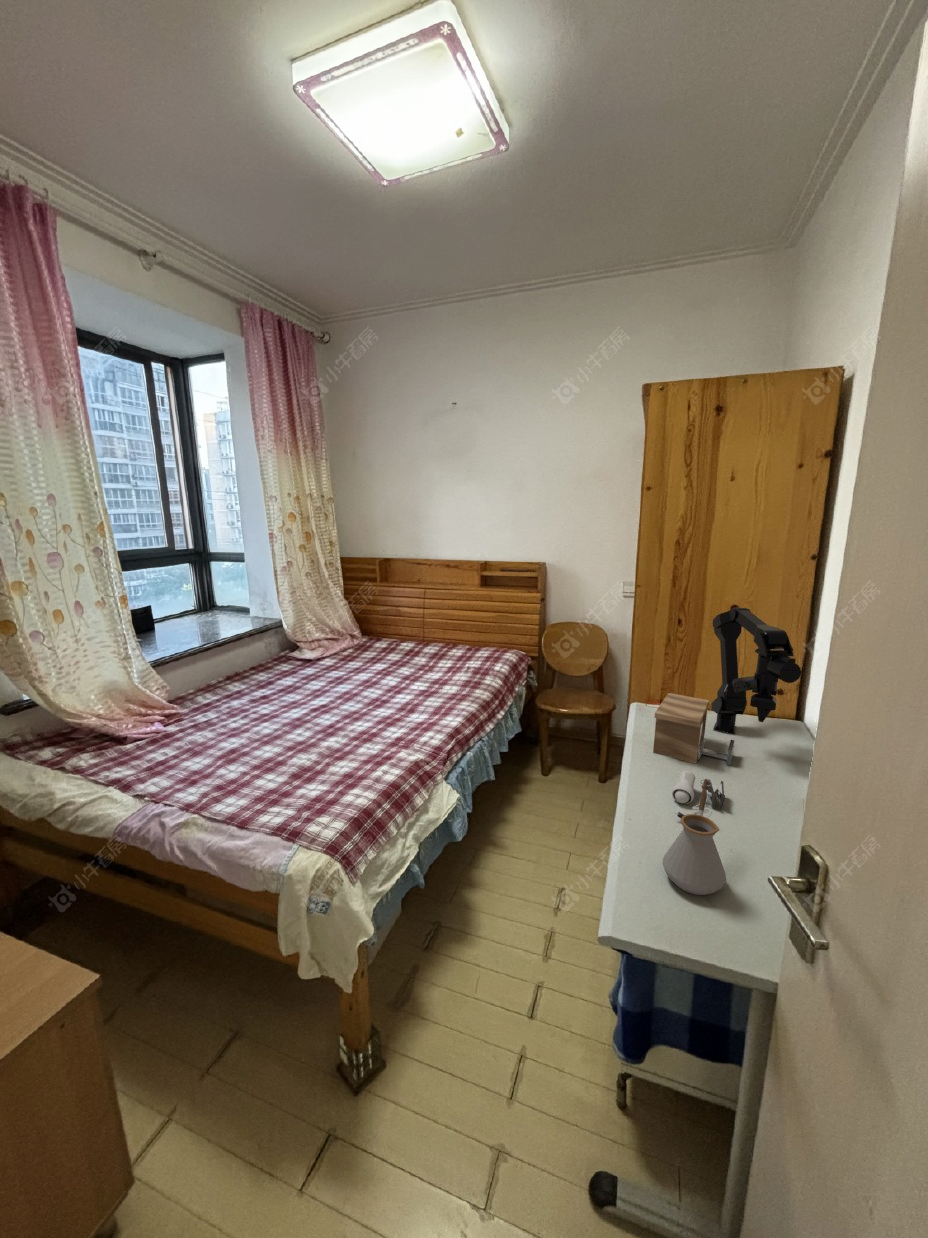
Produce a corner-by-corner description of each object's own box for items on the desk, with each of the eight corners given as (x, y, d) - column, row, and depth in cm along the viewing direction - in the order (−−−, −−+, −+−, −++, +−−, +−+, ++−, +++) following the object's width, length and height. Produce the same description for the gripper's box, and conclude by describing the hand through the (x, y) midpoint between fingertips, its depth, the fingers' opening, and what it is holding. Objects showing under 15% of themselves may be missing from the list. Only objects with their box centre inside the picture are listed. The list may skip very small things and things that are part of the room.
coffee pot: (722, 912, 92) (732, 839, 89) (656, 888, 97) (663, 820, 94) (728, 846, 110) (736, 784, 107) (672, 830, 115) (678, 770, 112)
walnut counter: (664, 732, 167) (668, 692, 164) (704, 741, 161) (709, 700, 158) (650, 756, 151) (654, 712, 148) (694, 767, 144) (699, 722, 141)
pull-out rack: (673, 738, 161) (675, 725, 160) (733, 752, 152) (734, 738, 151) (667, 752, 152) (668, 738, 151) (729, 767, 143) (731, 752, 142)
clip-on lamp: (715, 843, 116) (725, 793, 129) (720, 824, 113) (730, 774, 126) (662, 823, 121) (677, 776, 135) (666, 804, 118) (680, 758, 132)
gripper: (738, 659, 158) (733, 706, 161) (733, 675, 142) (727, 726, 146) (780, 665, 152) (773, 713, 155) (779, 682, 136) (771, 735, 140)
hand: (760, 721), depth 149 cm, fingers closed
